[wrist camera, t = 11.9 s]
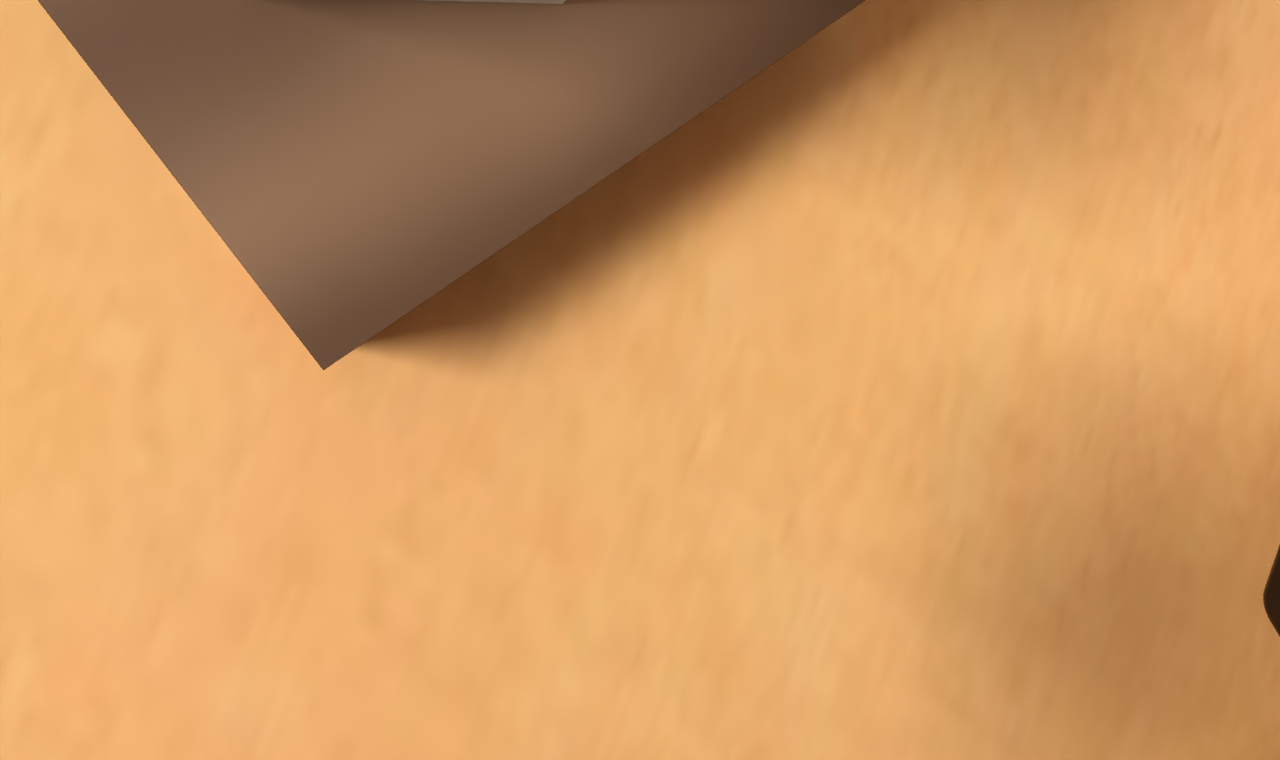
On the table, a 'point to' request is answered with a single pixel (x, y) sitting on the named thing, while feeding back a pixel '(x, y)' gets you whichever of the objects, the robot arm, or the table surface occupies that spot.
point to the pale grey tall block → (511, 1)
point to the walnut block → (408, 123)
